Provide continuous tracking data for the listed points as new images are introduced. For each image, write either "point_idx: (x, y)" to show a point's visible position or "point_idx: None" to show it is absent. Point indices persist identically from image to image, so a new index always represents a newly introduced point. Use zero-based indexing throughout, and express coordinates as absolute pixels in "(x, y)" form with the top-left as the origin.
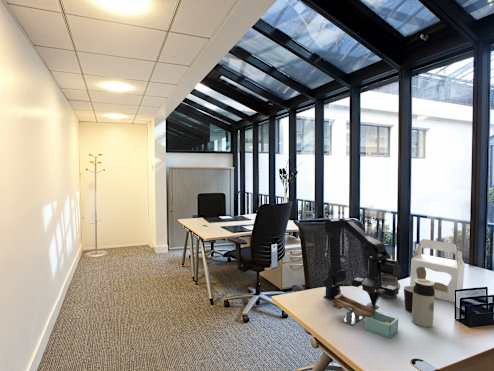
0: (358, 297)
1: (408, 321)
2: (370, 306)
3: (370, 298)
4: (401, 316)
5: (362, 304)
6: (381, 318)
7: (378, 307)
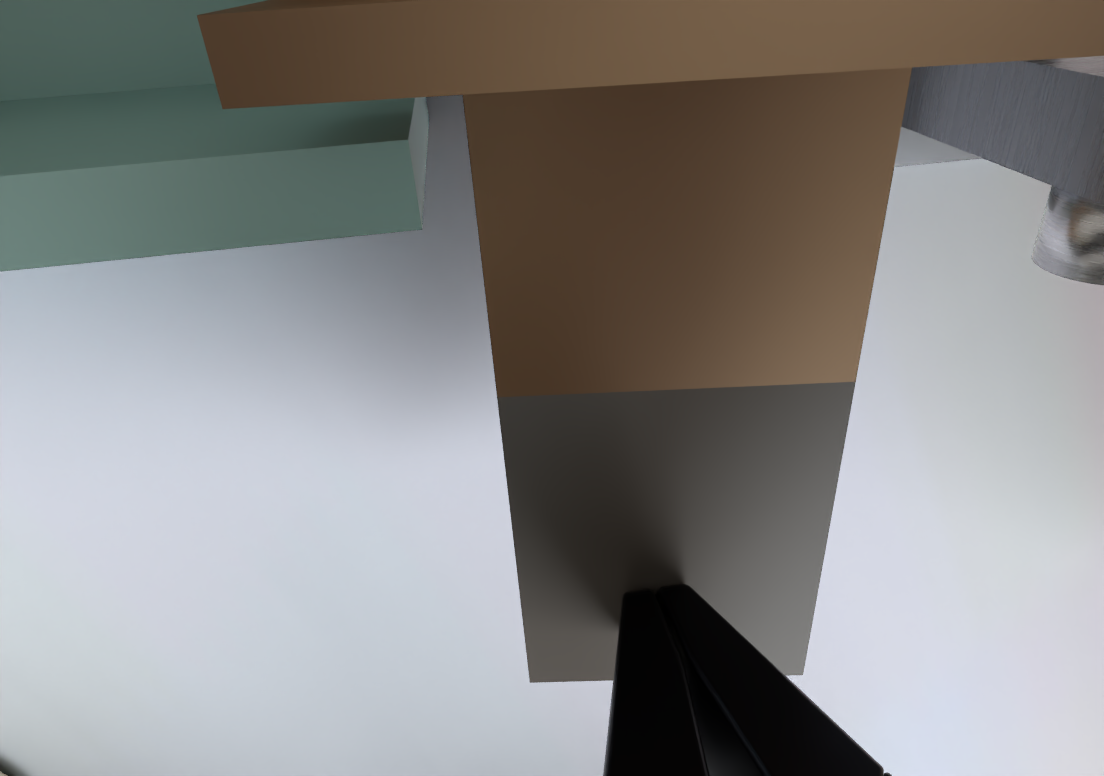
0: (1040, 772)
1: (36, 720)
2: (703, 482)
3: (859, 767)
4: (245, 768)
5: (1041, 51)
6: (56, 126)
7: (528, 640)
